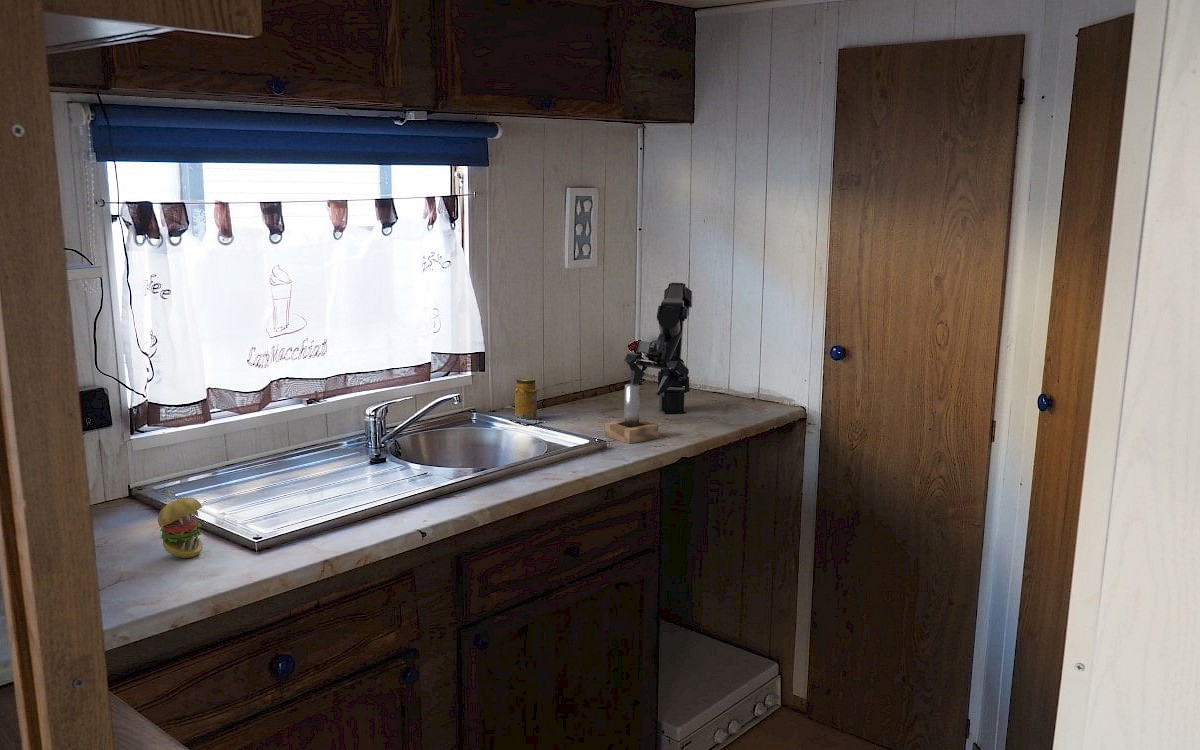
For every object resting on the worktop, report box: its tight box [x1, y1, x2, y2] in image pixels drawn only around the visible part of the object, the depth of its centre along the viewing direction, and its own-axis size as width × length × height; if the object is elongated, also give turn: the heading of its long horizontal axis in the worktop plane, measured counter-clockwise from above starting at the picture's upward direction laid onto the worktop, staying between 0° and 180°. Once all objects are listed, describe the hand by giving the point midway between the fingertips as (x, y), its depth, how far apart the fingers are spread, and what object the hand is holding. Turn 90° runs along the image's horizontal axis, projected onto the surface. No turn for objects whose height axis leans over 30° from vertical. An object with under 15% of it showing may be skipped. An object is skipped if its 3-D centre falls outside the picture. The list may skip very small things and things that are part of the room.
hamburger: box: [157, 489, 204, 559], centre depth 182 cm, size 8×7×12 cm
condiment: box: [514, 377, 546, 423], centre depth 286 cm, size 7×8×12 cm
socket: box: [604, 419, 659, 445], centre depth 271 cm, size 10×10×4 cm
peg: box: [623, 383, 641, 428], centre depth 270 cm, size 4×4×14 cm
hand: (644, 392), depth 278 cm, fingers open, 9 cm apart
